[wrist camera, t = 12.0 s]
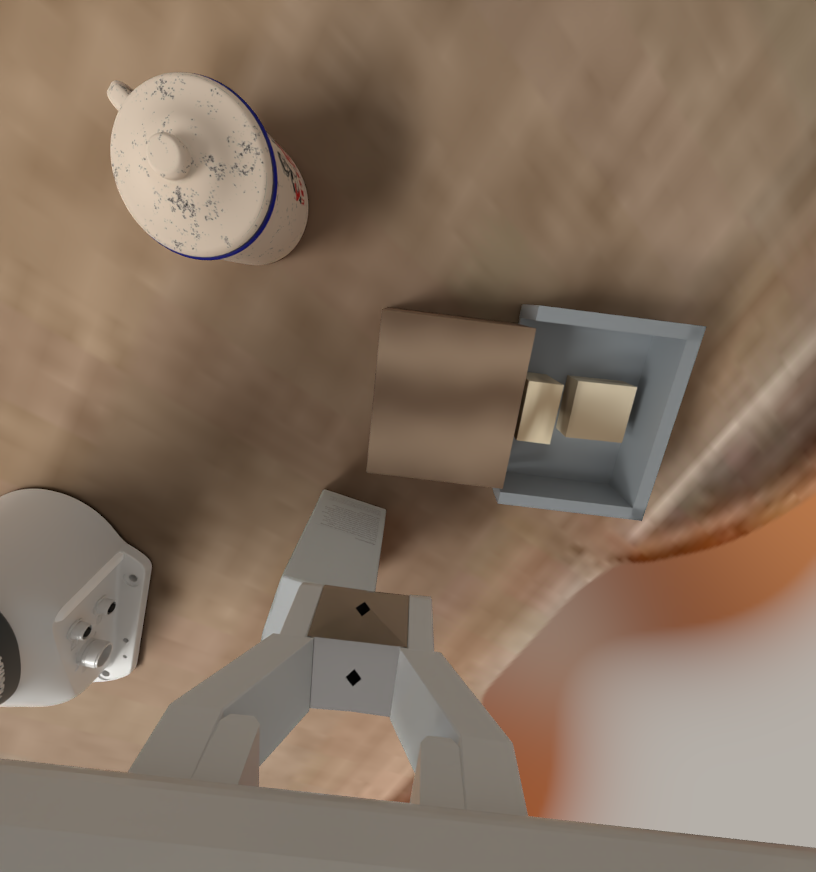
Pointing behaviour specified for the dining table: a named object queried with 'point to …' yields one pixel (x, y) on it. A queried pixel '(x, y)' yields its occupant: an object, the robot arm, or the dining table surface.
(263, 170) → the teacup with lid
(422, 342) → the brown and beige block
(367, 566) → the small box
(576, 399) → the rear tile
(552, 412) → the front tile
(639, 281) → the dining table surface
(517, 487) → the tray
